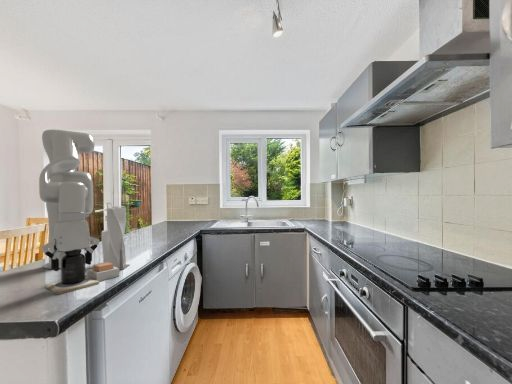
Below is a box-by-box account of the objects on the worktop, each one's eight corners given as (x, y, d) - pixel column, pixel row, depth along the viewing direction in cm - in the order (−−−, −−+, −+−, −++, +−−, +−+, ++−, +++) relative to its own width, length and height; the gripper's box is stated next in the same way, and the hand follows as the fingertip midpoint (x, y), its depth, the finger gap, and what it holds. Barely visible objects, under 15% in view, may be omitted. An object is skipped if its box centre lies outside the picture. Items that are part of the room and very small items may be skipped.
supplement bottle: (89, 279, 94) (89, 245, 94) (71, 285, 87) (71, 249, 87) (74, 278, 96) (74, 244, 96) (56, 284, 89) (55, 248, 89)
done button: (93, 270, 100) (93, 264, 100) (106, 267, 104) (106, 261, 104) (99, 272, 97) (99, 266, 97) (113, 269, 101) (113, 263, 101)
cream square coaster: (45, 286, 90) (45, 283, 90) (84, 277, 100) (84, 274, 100) (58, 294, 83) (58, 291, 83) (99, 283, 93) (99, 280, 93)
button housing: (87, 277, 99) (87, 269, 99) (109, 272, 106) (109, 265, 106) (96, 281, 95) (96, 273, 95) (119, 276, 101) (119, 268, 101)
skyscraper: (101, 270, 109) (101, 202, 109) (110, 265, 117) (110, 202, 117) (123, 269, 110) (122, 202, 110) (130, 264, 118) (130, 201, 118)
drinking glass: (111, 265, 117) (111, 231, 117) (98, 264, 118) (97, 231, 118) (121, 261, 123) (121, 229, 124) (109, 260, 125) (109, 229, 125)
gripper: (94, 215, 101) (94, 260, 100) (37, 219, 87) (37, 271, 86) (103, 216, 96) (104, 263, 96) (45, 220, 82) (45, 275, 82)
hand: (72, 267), depth 91 cm, fingers open, 9 cm apart
